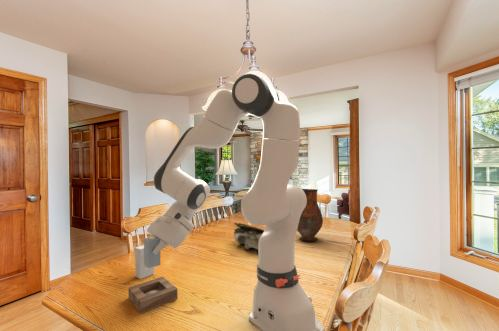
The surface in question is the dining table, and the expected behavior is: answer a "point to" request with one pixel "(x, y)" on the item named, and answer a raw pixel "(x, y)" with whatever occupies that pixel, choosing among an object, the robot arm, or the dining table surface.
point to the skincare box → (141, 264)
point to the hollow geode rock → (247, 235)
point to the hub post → (149, 256)
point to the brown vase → (310, 218)
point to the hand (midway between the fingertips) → (150, 251)
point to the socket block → (152, 294)
